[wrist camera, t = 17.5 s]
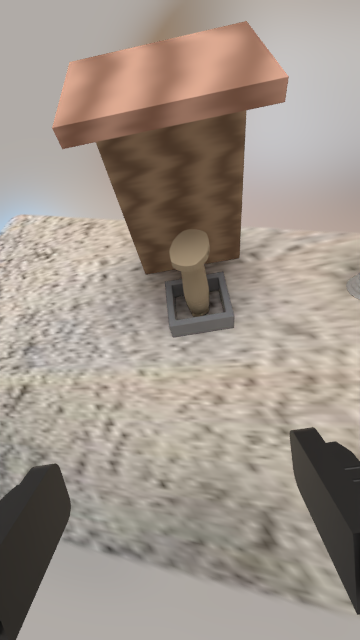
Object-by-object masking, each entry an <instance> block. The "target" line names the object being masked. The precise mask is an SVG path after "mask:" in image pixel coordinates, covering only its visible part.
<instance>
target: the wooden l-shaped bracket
mask: <svg viewBox="0 0 360 640" xmlns="http://www.w3.org/2000/svg"><path fill="white" fill-rule="evenodd" d="M288 78H289V77H288V75H287V74H286V73H285V71H284V70H283V69H282V67H281V66H280V65H279V63H278V62H277V61H276V59H275V58H274V57H273V55H272V54H271V53H270V52H269V50H268V49H267V48H266V46H265V45H264V44H263V42H262V41H261V40H260V38H259V37H258V36H257V35H256V33H255V32H254V30H253V29H252V28H251V26H250V25H249V24H248V23H247V21H245V22H241V23H236V24H232V25H228V26H224V27H219V28H215V29H211V30H206V31H202V32H197V33H193V34H189V35H185V36H180V37H176V38H172V39H167V40H163V41H159V42H154V43H150V44H146V45H142V46H137V47H133V48H129V49H125V50H120V51H116V52H111V53H107V54H103V55H98V56H94V57H90V58H86V59H81V60H77V61H73V62H70V63H69V66H68V70H67V74H66V78H65V82H64V86H63V89H62V93H61V97H60V100H59V104H58V108H57V112H56V116H55V119H54V123H53V127H52V129H53V131H54V133H55V135H56V137H57V139H58V141H59V143H60V145H61V147H62V149H65V148H69V147H75V146H79V145H84V144H89V143H93V142H96V143H97V146H98V149H99V152H100V154H101V157H102V160H103V162H104V165H105V168H106V170H107V173H108V176H109V178H110V181H111V184H112V186H113V189H114V192H115V194H116V197H117V200H118V202H119V205H120V207H121V210H122V213H123V216H124V218H125V221H126V223H127V226H128V229H129V231H130V234H131V237H132V239H133V242H134V245H135V247H136V250H137V253H138V255H139V258H140V261H141V263H142V266H143V269H144V271H145V274H151V273H157V272H163V271H168V270H174V269H175V268H173V266H172V263H171V258H170V253H169V251H170V247H171V245H172V242H173V240H174V239H175V238H176V237H177V236H178V235H179V234H180V233H181V232H182V231H184V230H188V229H197V230H202V231H204V232H206V233H207V236H208V239H209V245H210V251H209V256H208V259H207V261H206V262H205V263H204V264H208V263H214V262H219V261H225V260H230V259H236V258H239V255H240V233H241V212H242V191H243V170H244V149H245V146H244V145H245V128H246V127H245V126H246V110H249V109H254V108H259V107H264V106H268V105H273V104H278V103H283V102H285V98H286V91H287V84H288Z"/></svg>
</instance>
